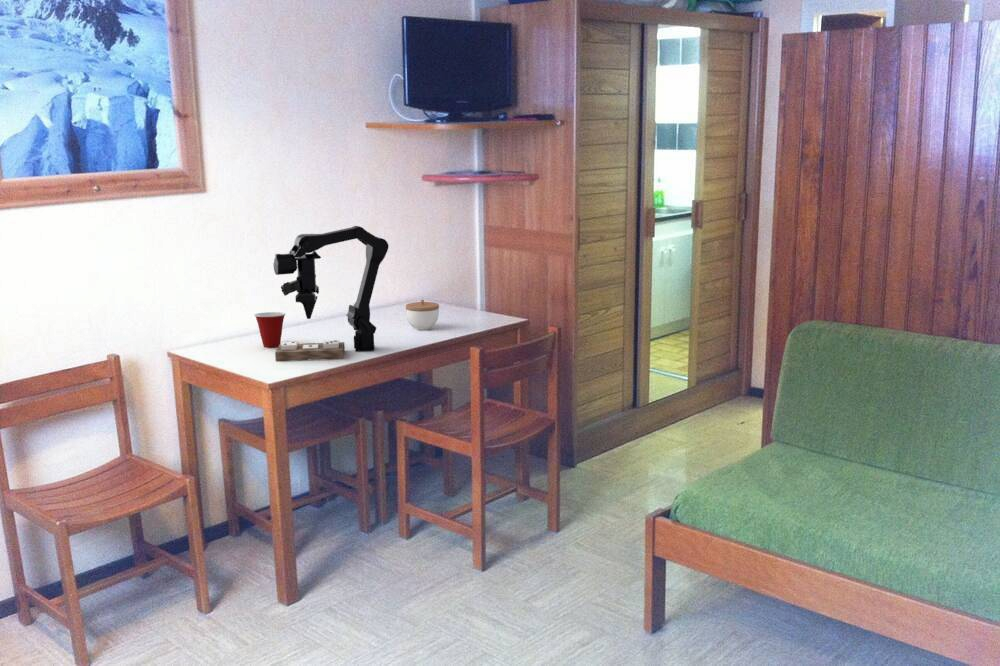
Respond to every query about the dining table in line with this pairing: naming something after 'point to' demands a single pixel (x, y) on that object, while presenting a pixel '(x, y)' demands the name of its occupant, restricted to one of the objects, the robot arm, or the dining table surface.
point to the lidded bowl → (422, 314)
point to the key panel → (310, 353)
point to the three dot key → (331, 344)
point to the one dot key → (311, 346)
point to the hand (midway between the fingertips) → (308, 318)
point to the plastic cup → (270, 328)
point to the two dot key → (289, 346)
